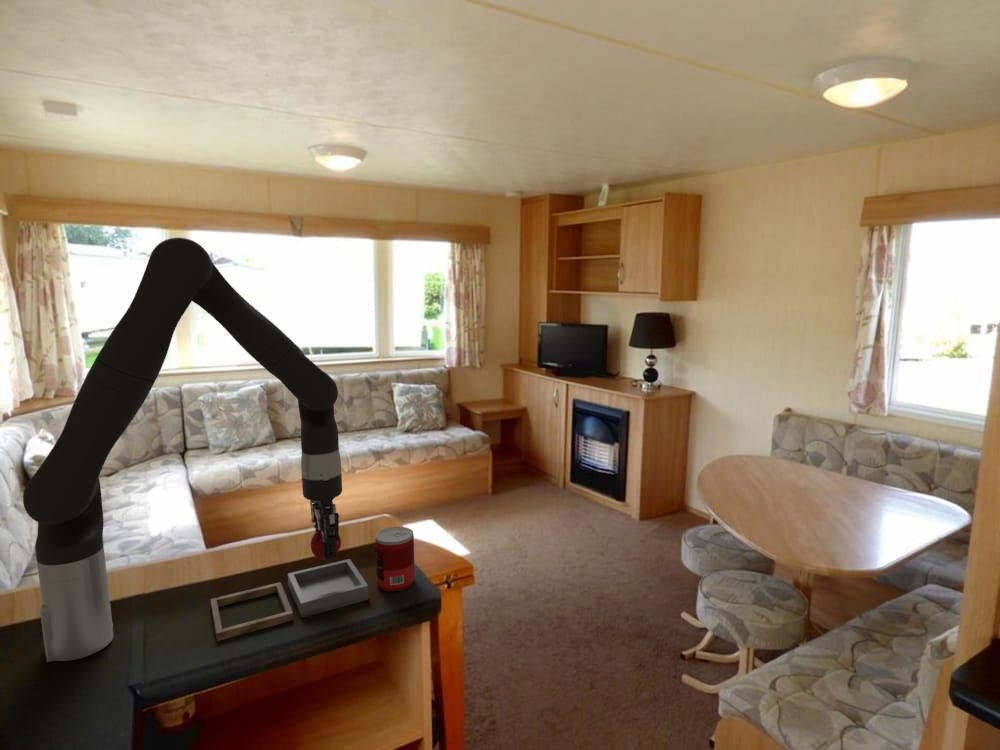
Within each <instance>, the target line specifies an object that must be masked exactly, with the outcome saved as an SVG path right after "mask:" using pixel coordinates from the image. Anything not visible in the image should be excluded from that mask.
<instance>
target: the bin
mask: <svg viewBox="0 0 1000 750" xmlns="http://www.w3.org/2000/svg"><path fill="white" fill-rule="evenodd" d="M287 581H288V582H287V584H288V589H289V592H290V594H291V596H292V598H293V601H294V604H295V605H296V608H297V610H298V613H299V615H300V617H301V618H306V617H311V616H314V615H317V614H322V613H324V612H328V611H333V610H335V609H340V608H343V607H346V606H350V605H353V604H357V603H361V602H364V601H369V600H368V599H370V598H369V585H368V583H367V582H366V580H365V578H363V576H362V574H361V572H360V571H359V569H357V567H356V566H355V564H354V563H353V562H352V560H351V558H348V559H344V560H339V561H336V562H331V563H327V564H324V565H318V566H315V567H314V566H313V567H310V568H306V569H301V570H296V571H293V572H289V573H287Z"/></svg>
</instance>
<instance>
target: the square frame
mask: <svg viewBox="0 0 1000 750" xmlns="http://www.w3.org/2000/svg"><path fill="white" fill-rule="evenodd" d="M271 594H277V597H278V600H279V602H280V605H281V607H282V610H283V612H281V613H277V614H276V613H275V614H273V615H269V616H266V617H261V618H258V619H254V620H250V621H247V622H244V623H238V624H235V625H232V626H228V627H224V628H223V627H222V620H221V614H220V611H219V607H223V606H228V605H231V604H232V605H233V604H235V603H239V602H243V601H247V600H251V599H256V598H260V597H264V596H267V595H271ZM210 607H211V613H212V619H213V624H214V625H213V626H214V630H215V631H214V632H215V637H216V642H219V641H222V640H223V641H224V640H226V639H231V638H234V637H238V636H240V635H244V634H248V633H252V632H255V631H259V630H262V629H266V628H271V627H274V626H278V625H281V624H284V623H288V622H292V621H294V612H293V610H292V607H291V604H290V602H289V600H288V597H287V595H286V592H285V589H284V588H283V585H282V583H281V581H280V582H275V583H272V584H271V583H270V584H268V585H262V586H257V587H256V588H255V587H254V588H252V589H247V590H243V591H238V592H234V593H231V594H226V595H221V596H217V597H213V598H210Z"/></svg>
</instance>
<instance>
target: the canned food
mask: <svg viewBox="0 0 1000 750" xmlns="http://www.w3.org/2000/svg"><path fill="white" fill-rule="evenodd" d="M414 537H415V536H414V531H413V530H412V529H411V528H408V527H406V526H391V527H386V528H383V529H381V530H379V531H378V532H376V533H375V537H374V538H375V539H374V540H375V542H374V543H375V569H376V573H375V574H376V584H377V586H378V588H379V589H380V590H381V591H385V592H389V591H396V592H399V591H398V590H401V591H404V590H406V589H408V588H410V587H411V586H412V585H413V583H414V580H415V539H414ZM403 589H404V590H403Z"/></svg>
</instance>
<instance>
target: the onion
mask: <svg viewBox="0 0 1000 750" xmlns="http://www.w3.org/2000/svg"><path fill="white" fill-rule="evenodd" d="M323 526H324V525H323ZM328 535H332V532H329V534H328ZM341 539H342V538H341V536H340V535H339V540H338V541H335V547H336V555H337V554H338V552H340V550H341V546H342V540H341ZM310 549H311V552H312V554H313V555H314V556H315V557H316V558H317V559H319V560H322V561H325V562H329V561H330V560H331V559H328V560H326V559H325V558H324V551H323V541H322V532H321V531H320V530H318V531H317V532H316V531H315V533H314V534H313V536H312V538H311V540H310Z"/></svg>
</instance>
